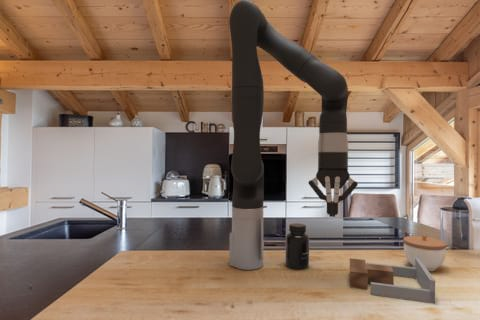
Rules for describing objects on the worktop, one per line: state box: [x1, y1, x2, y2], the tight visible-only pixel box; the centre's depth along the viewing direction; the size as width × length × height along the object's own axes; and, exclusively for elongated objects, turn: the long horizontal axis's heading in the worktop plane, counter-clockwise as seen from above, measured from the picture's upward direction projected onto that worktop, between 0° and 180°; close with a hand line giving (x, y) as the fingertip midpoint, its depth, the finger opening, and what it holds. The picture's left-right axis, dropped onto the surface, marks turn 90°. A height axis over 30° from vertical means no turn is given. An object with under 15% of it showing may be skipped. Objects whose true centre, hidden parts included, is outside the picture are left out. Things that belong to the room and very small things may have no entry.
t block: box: [349, 258, 394, 291], centre depth 79 cm, size 10×10×4 cm
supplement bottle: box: [284, 222, 310, 270], centre depth 90 cm, size 7×7×12 cm
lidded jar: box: [402, 234, 447, 272], centre depth 89 cm, size 11×11×9 cm
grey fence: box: [366, 258, 436, 304], centre depth 77 cm, size 13×15×5 cm
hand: (332, 216), depth 82 cm, fingers closed
